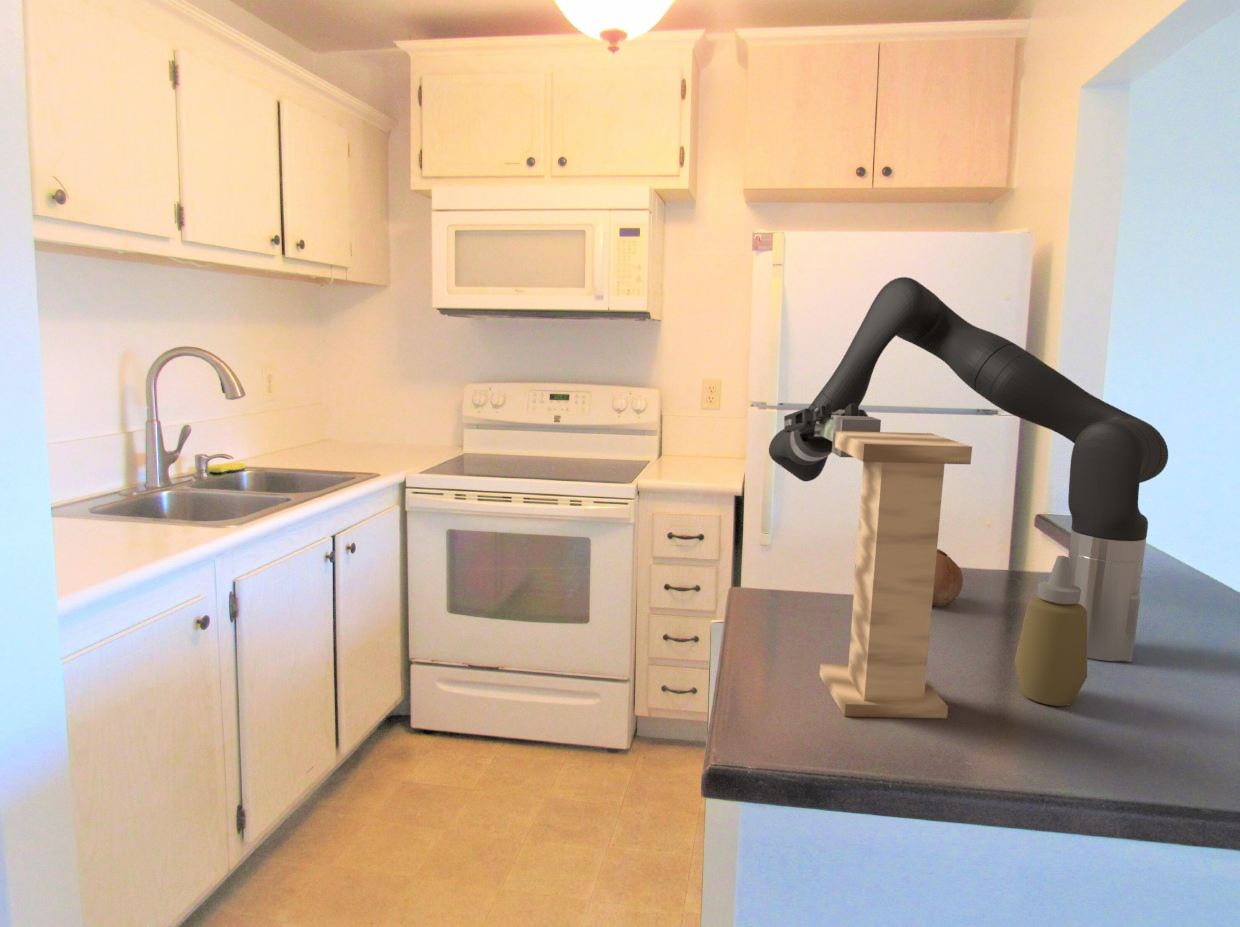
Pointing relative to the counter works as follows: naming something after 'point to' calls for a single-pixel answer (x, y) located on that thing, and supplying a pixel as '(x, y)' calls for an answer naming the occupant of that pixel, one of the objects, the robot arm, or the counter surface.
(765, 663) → the counter surface
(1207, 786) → the counter surface
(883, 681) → the stand
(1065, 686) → the squeeze bottle
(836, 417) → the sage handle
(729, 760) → the counter surface
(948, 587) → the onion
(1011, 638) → the counter surface
